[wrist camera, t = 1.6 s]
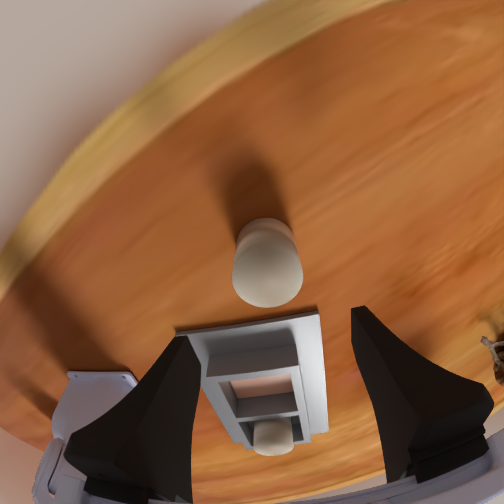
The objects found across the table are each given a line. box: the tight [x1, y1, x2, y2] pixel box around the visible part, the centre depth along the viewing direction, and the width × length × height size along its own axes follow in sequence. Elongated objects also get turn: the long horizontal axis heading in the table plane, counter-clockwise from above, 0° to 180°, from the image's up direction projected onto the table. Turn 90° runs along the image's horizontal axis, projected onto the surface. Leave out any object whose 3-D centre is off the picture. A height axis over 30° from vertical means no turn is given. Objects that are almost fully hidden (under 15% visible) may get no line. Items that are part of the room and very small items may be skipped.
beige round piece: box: [254, 416, 293, 456], centre depth 28 cm, size 4×4×4 cm
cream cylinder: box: [232, 217, 303, 308], centre depth 19 cm, size 4×4×4 cm
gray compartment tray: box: [175, 310, 328, 450], centre depth 27 cm, size 12×20×3 cm, turn 12°
